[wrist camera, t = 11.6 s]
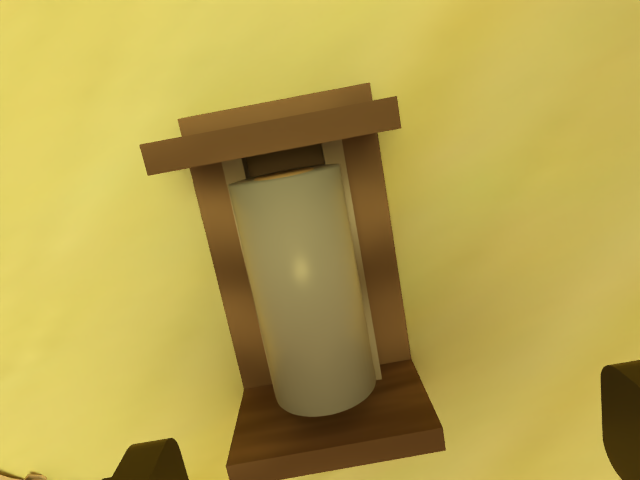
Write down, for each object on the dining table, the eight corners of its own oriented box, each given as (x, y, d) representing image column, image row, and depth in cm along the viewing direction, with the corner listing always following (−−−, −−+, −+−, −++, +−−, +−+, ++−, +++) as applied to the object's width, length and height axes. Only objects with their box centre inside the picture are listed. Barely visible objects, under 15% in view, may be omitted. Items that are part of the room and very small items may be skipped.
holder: (182, 119, 25) (131, 115, 18) (367, 84, 25) (392, 65, 18) (254, 413, 29) (237, 507, 22) (412, 384, 29) (448, 470, 22)
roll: (240, 177, 24) (215, 190, 19) (338, 159, 24) (340, 168, 19) (282, 368, 27) (269, 424, 22) (371, 355, 26) (380, 408, 21)
